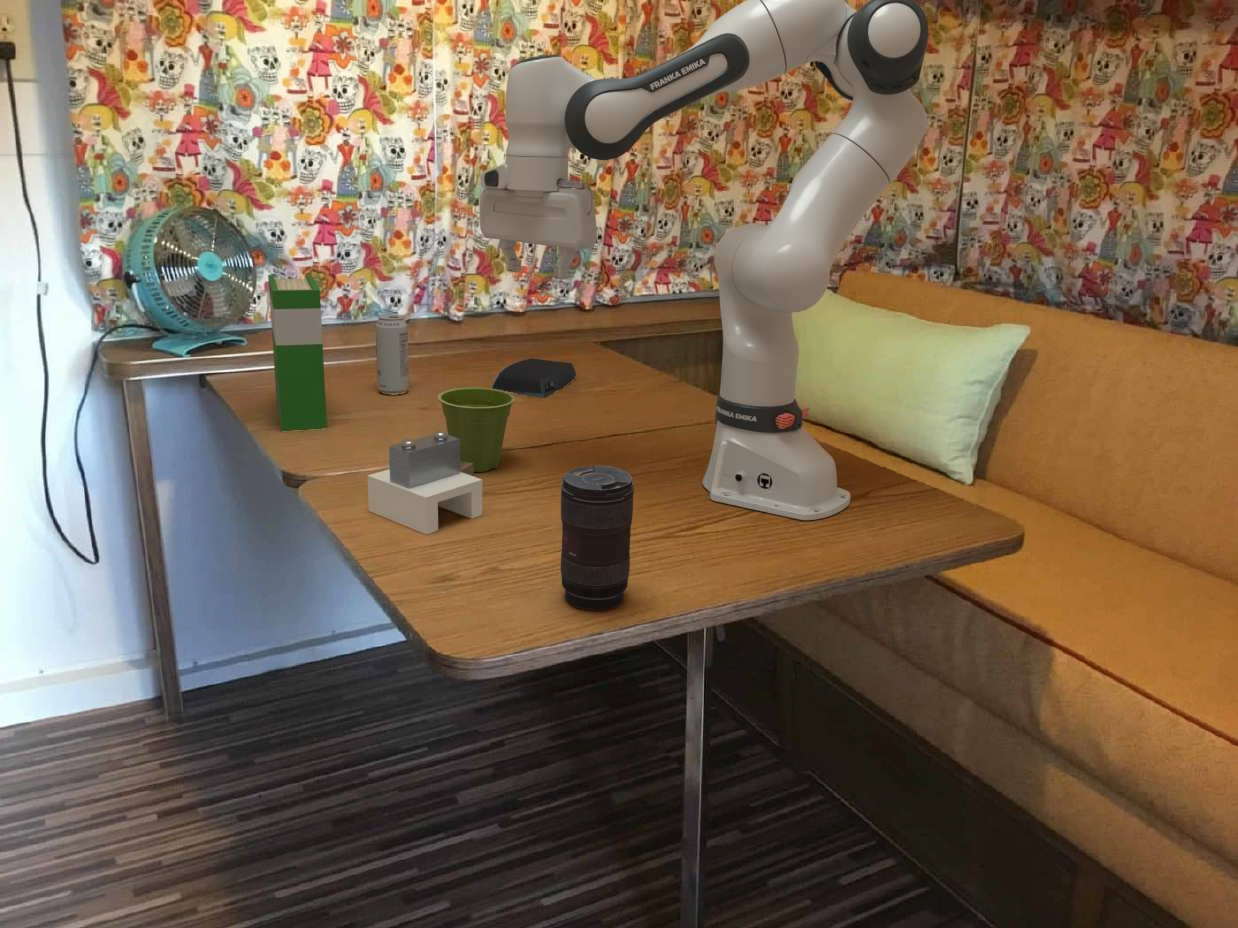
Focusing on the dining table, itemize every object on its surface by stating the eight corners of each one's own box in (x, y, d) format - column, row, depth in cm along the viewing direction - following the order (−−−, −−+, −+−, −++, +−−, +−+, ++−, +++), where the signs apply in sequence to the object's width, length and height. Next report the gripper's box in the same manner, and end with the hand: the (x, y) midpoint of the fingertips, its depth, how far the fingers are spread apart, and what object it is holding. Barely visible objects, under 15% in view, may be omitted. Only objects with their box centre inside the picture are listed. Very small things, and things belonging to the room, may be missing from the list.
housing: (409, 488, 135) (408, 447, 133) (390, 481, 138) (388, 440, 136) (460, 473, 142) (460, 433, 140) (441, 466, 144) (440, 427, 142)
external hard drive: (486, 393, 206) (486, 373, 204) (524, 373, 223) (524, 354, 222) (546, 401, 202) (547, 381, 200) (580, 380, 219) (581, 361, 218)
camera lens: (544, 596, 118) (546, 474, 113) (595, 577, 124) (599, 459, 119) (591, 621, 113) (596, 493, 108) (643, 600, 118) (649, 478, 114)
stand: (482, 514, 141) (482, 479, 140) (426, 534, 134) (425, 497, 132) (424, 493, 149) (424, 459, 147) (368, 511, 141) (367, 475, 139)
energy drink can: (382, 387, 204) (379, 313, 200) (412, 389, 204) (410, 314, 199) (374, 395, 199) (371, 318, 194) (405, 396, 198) (403, 320, 194)
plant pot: (458, 482, 153) (457, 410, 150) (426, 460, 163) (425, 391, 159) (528, 471, 160) (528, 401, 156) (493, 450, 169) (493, 384, 166)
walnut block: (473, 488, 152) (473, 463, 150) (460, 497, 148) (460, 471, 147) (449, 484, 153) (449, 459, 151) (436, 493, 149) (435, 467, 148)
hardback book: (276, 405, 189) (268, 274, 182) (318, 403, 192) (311, 274, 184) (281, 432, 174) (272, 291, 166) (327, 429, 176) (319, 290, 169)
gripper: (607, 181, 142) (605, 281, 146) (502, 173, 154) (503, 265, 158) (577, 182, 137) (576, 285, 142) (471, 174, 149) (473, 269, 154)
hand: (537, 275), depth 150 cm, fingers open, 8 cm apart
